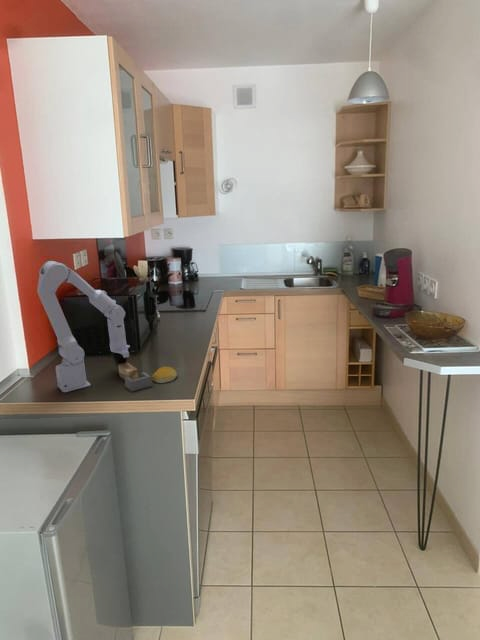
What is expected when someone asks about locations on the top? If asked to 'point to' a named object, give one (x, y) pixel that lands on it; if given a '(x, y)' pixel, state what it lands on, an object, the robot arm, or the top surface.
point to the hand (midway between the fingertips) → (121, 371)
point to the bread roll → (164, 375)
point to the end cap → (138, 382)
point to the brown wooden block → (127, 371)
